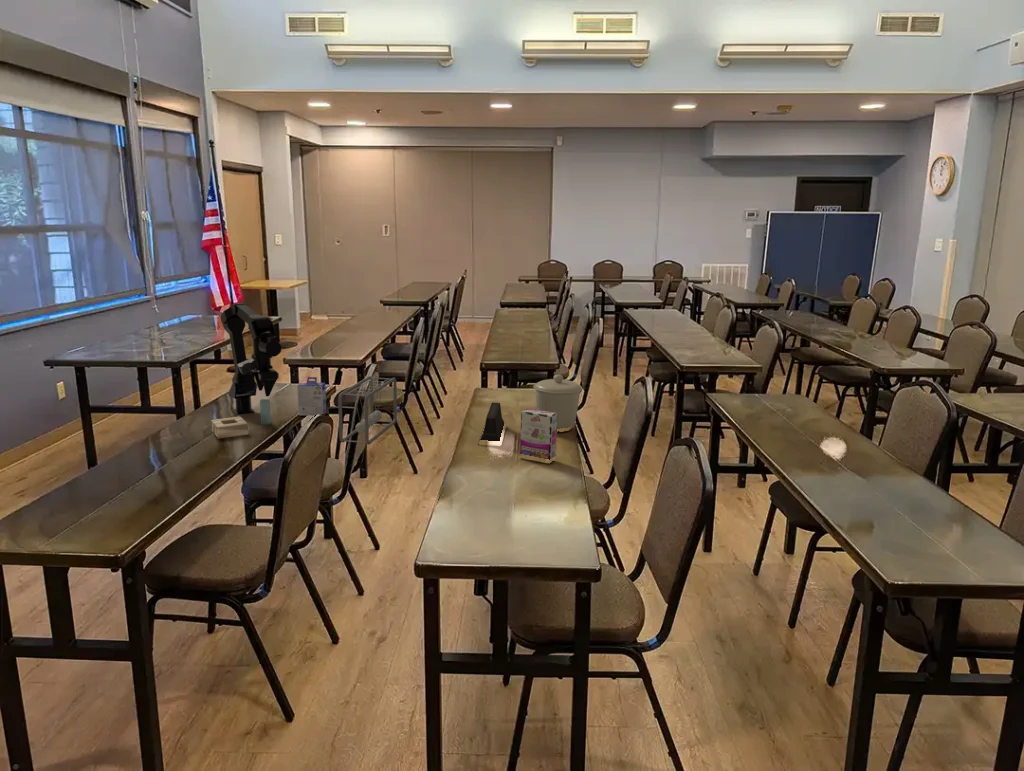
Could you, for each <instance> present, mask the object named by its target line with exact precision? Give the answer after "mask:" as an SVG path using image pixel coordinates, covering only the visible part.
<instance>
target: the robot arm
mask: <svg viewBox="0 0 1024 771" xmlns="http://www.w3.org/2000/svg"><path fill="white" fill-rule="evenodd" d="M220 322H221V323H222V327H223V330H224V331H225V332H226V333H227V334H228V336H229V341H230V348H231V353H232V360H233V366H234V374H233V377H232V378H231V381H232V382H231V386H230V388H229V391H228V392H229V393H228V394H229V397H230V398H232V399H234V400H235V408H233V412H234V413H236V415H240V414H241V415H243V414H248V413H249V414H250V413H255V410H254V409H253V408H252V397H255V396H257V388H258V391H263V390H264V394H265V397H270V396H271V393H272V390H273V389H274V386H275V384H276V382H277V381H278V379H280V375H279V372H278V371H277V370H275V369H273V365H272V361H271V360H272V358H274V357H277V356H278V355H280V354H281V352H282V345H281V343H280V342H279V341H277V339H276V337H277V336H278V335H277V332H278V331H277V329H276V327H275V325H274V323H273V321H272V320H271V318H270V317H269V316H267V315H264V314H263V315H262V314H258V313H257V312H255V310H253V309H252V308H250V307H249V306H248V304H247V303H246V302H240V303H238V302H237V303H236V302H235V303H233V304H231V306H230V307H228V308H226V309H224V310H223V312H222V313H221V314H220ZM246 324H247V327H248V330H249V332H250V333H251V337H250V338H252V348H253V353H251V358H249V359H247V354H246V348H245V342H244V335H243V333H244V330H245V327H246Z"/></svg>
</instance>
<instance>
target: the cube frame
mask: <svg viewBox="0 0 1024 771" xmlns="http://www.w3.org/2000/svg"><path fill="white" fill-rule="evenodd" d="M374 379H376V381H375V380H374ZM377 379H378V380H384V381H381V382H379V383H378V381H377ZM373 380H374V381H373ZM374 382H377V384H376V386H374ZM392 382H393V385H392V386H393V420H392V421H390V420H389V421H388V420H382V418H383V413H382V411H381V410H379V408H380V405H378V406H377V407H376V405H377V404H376V402H378V404H380V402H381V399H379V401H377V400H378V398H375V394H376V393H377V394H376V396H378V395H380V396H379V398H381V396H382V394H379V391H380V392H382V391H383V389H384V388H385V387H387V386H388V385H389V384H392ZM365 385H366V386H365ZM368 385H369V386H368ZM364 386H365V387H366V390H367V391H364V390H362V389H364V388H363V387H364ZM368 387H369V388H368ZM359 389H360V390H362V391H360V390H359ZM356 391H357V392H358V394H356V393H355V392H356ZM360 393H363V394H360ZM397 394H398V393H397V379H396V377H392V378H385V377H376V376H375V377H373V376H371V375H370V376H369V375H368V376H367V377H365V378H363V379H362V380H360V381H358V382H357V383H355V384H353V385H351V386H350V387H348V388H346V389H345V390H343V391H342V392H339V395H338V398H337V401H338V403H337V404H338V429H339V430H338V433H339V434H338V435H339V436H338V437H339V441H340V442H341V443H345V442H350V443H363V444H366V445H371V444H372V443H373V442H374V441H376V440H377V439H378V438H379V437H380V436H381V435H382V434H384V433H385V432H387V430H389V429H390V428H391V427H392V426H393V425H395V424H396V423H397V418H398V414H397V412H398V410H397V409H398V405H397V403H398V402H397V401H398V400H397V398H398V397H397V396H398V395H397ZM344 395H345V396H354V399H355V400H354V401H357V399H356V397H357V396H358V397H364V408H363V405H362V400H361V398H359V400H360V404H361V410H362V416H364V417H362V419H360V414H359V413H360V412H359V410H358V403H357V402H355V404H356V409H357V415H358V420H359V422H357V424H356V425H355V429H354V430H353V431H351V432H350V433H349V434H347V435H346V436H345V437H344V432H343V429H344V428H343V403H342V402H343V401H342V398H343V396H344ZM375 399H376V400H375ZM369 407H370V412H369ZM369 413H370V414H369ZM377 422H379V423H380V422H381V423H389V424H387V425H385V427H384V428H382V429H381V430H380V431H378V433H376V434H375V435H374V436H372V438H370V437H369V436H370V435H369V432H370V431H369V430H370V428H371V427H373V426H374V425H375V424H376V423H377ZM357 433H358V434H363V433H364V434H365V435H364V437H365V439H364V441H360V440H359V441H358V440H350V438H351V437H353V436H354V435H355V434H357ZM369 438H370V439H369Z"/></svg>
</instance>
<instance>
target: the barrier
mask: <svg viewBox="0 0 1024 771" xmlns="http://www.w3.org/2000/svg"><path fill="white" fill-rule="evenodd" d="M504 422H505V421H504V418H503V415H502V408H501V403H500V402H491V403H490V407H489V409H488V412H487V415H486V419H485V423H484V426H485V428H484V427H483V429H484V431H483V430H482V432H483V434H482V433H481V434H482V436H481V435H480V437H481V439H480V438H479V440H488V441H500V437H501V433H502V430H503V426H504Z"/></svg>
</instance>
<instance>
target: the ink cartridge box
mask: <svg viewBox="0 0 1024 771" xmlns="http://www.w3.org/2000/svg"><path fill="white" fill-rule="evenodd" d="M317 380H318V378H317V376H316V377H315V376H307V380H306V382H300V383H298V385H297V406H298V407H297V408H298V416H311V417H314V416H315V415H317V414H324V415H326V414H327V413H328V412H327V391H326V390H327V389H326V383H325V382H318V381H317ZM315 417H316V416H315Z"/></svg>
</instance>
